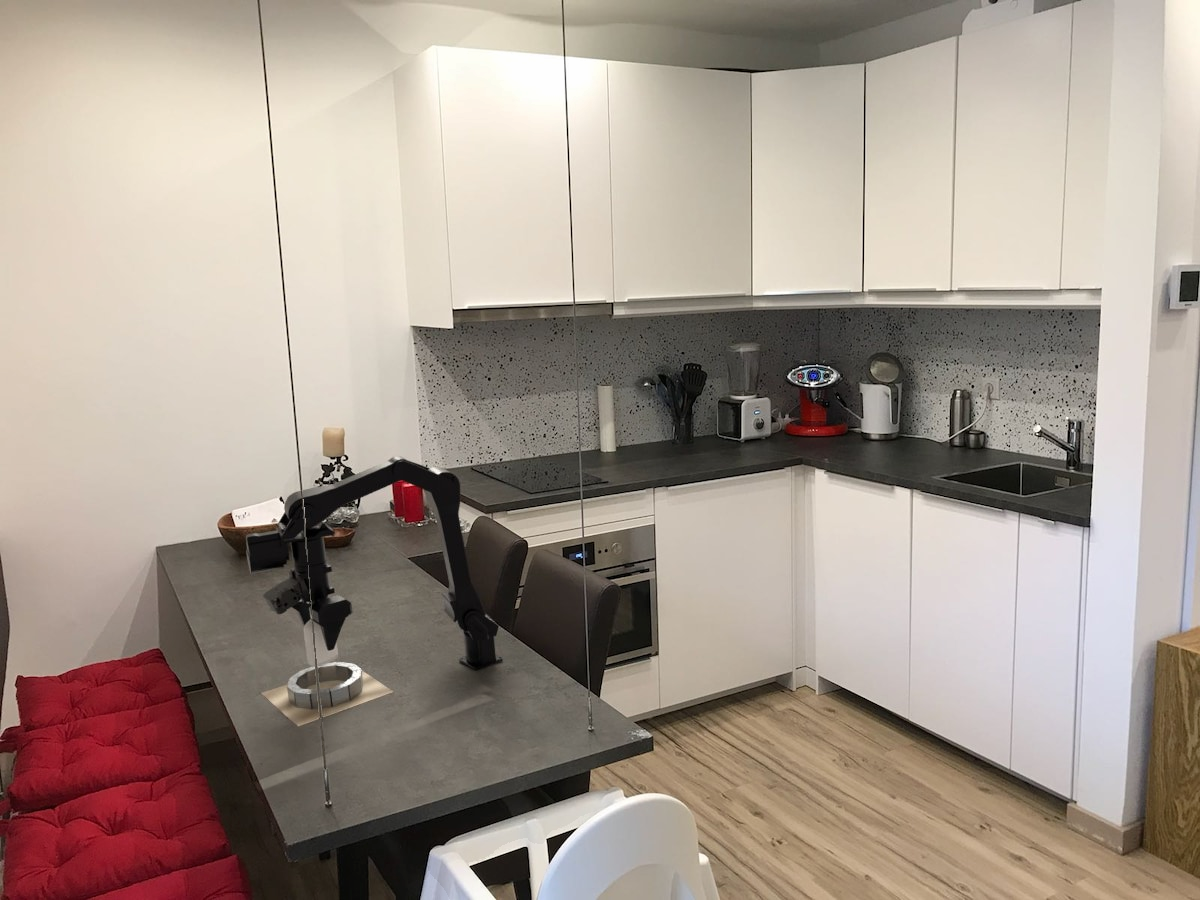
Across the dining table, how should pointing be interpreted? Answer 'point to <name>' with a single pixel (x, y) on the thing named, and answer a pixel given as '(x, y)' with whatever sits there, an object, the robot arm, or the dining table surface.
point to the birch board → (304, 716)
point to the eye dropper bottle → (317, 645)
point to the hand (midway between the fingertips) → (321, 643)
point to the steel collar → (330, 695)
